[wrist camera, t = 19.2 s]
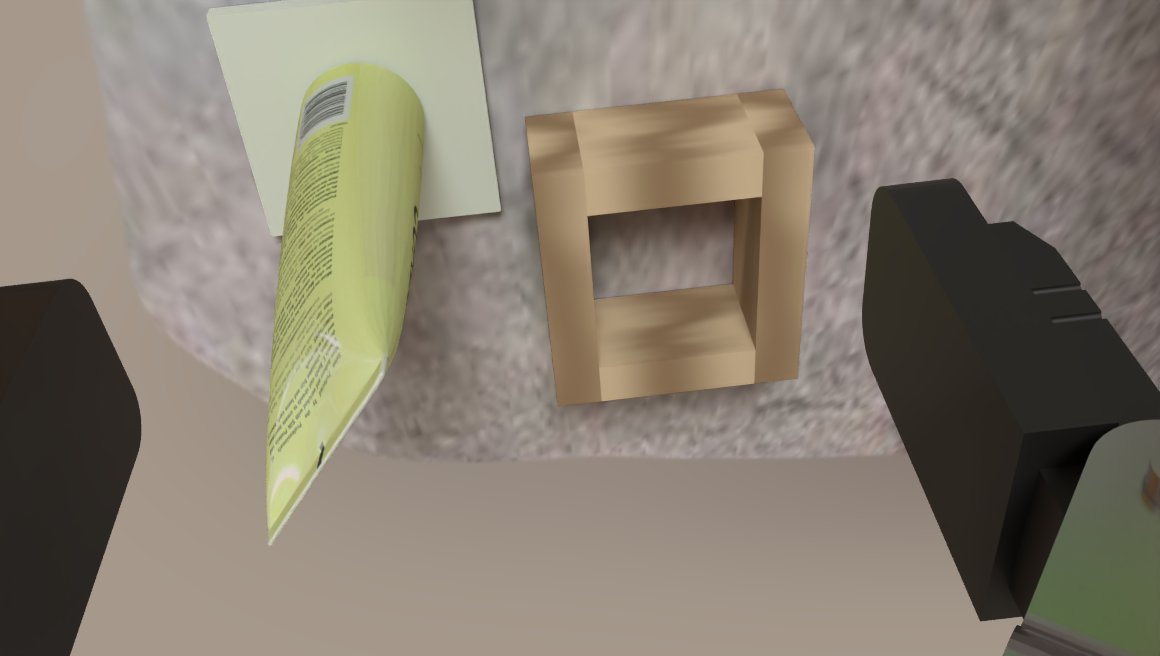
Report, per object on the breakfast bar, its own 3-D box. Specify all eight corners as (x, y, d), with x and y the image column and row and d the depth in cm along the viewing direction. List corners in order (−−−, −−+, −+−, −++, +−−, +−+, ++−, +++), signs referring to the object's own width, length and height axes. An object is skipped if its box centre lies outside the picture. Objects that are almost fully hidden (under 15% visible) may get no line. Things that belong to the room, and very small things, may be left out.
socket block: (783, 88, 46) (814, 147, 42) (772, 311, 54) (797, 378, 50) (524, 116, 46) (532, 178, 42) (549, 337, 53) (557, 406, 50)
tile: (470, -19, 42) (470, -11, 41) (500, 201, 48) (501, 211, 48) (209, 8, 42) (206, 16, 41) (273, 226, 48) (271, 236, 47)
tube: (442, 169, 46) (440, 520, 31) (325, 192, 46) (265, 551, 31) (407, 45, 43) (385, 372, 27) (280, 70, 43) (189, 409, 28)
